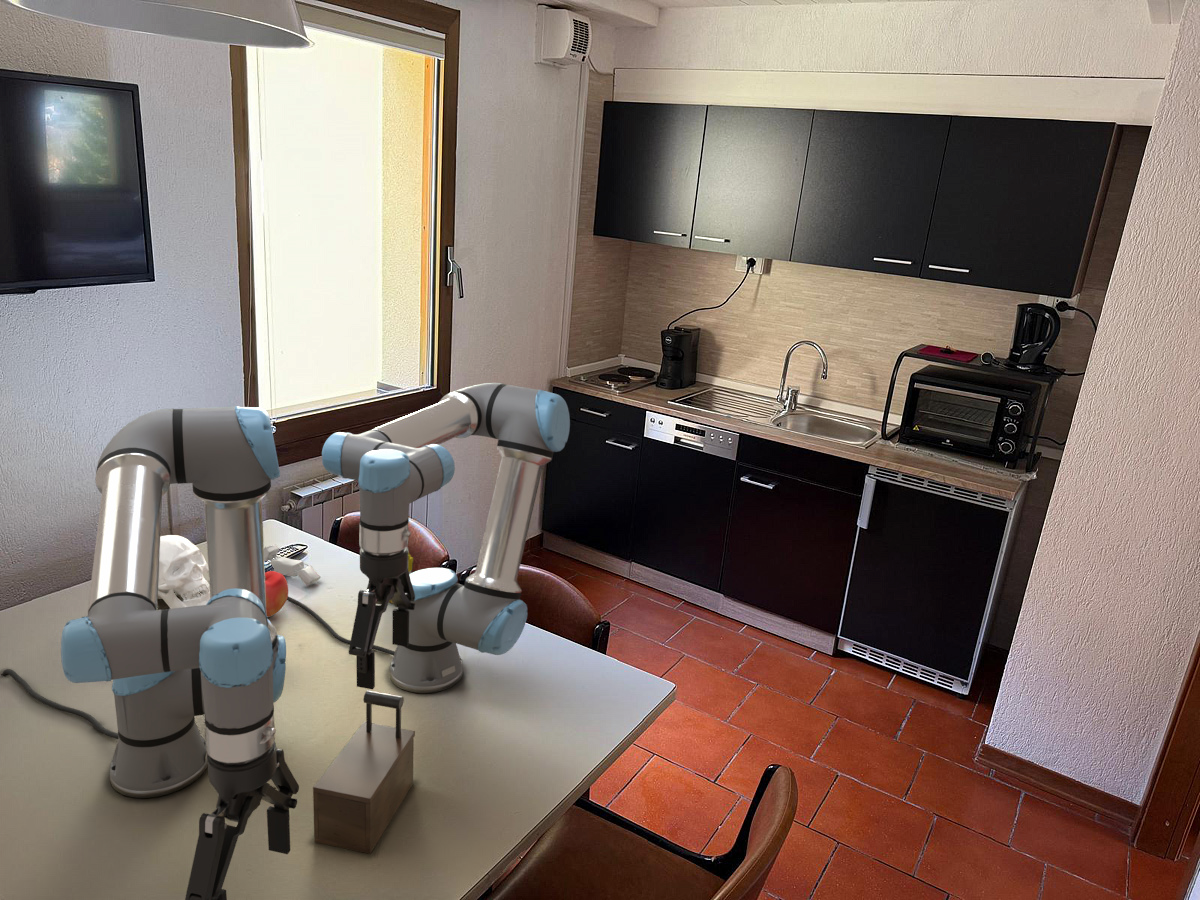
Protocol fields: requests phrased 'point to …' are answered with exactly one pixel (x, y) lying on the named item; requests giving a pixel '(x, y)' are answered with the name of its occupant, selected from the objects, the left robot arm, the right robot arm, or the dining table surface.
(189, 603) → the skull
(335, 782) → the lid
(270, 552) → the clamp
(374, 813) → the chest
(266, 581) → the apple
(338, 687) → the dining table surface
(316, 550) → the dining table surface
